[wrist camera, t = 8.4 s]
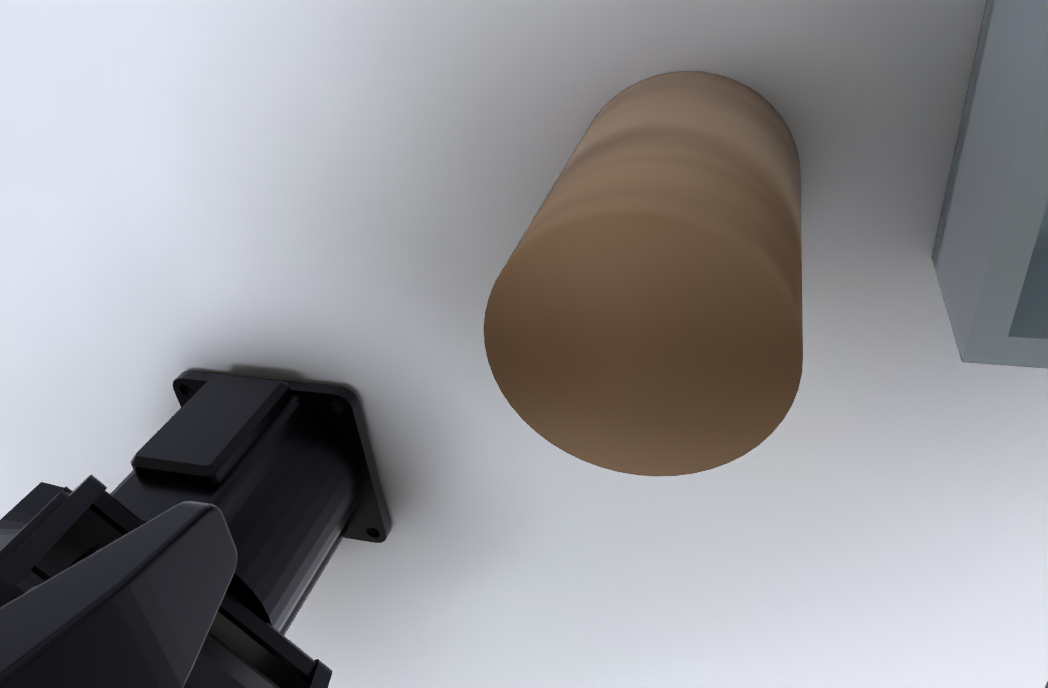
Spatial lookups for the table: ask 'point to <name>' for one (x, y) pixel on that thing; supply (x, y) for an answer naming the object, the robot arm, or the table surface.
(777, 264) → the walnut cylinder
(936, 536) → the table surface
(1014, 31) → the tote
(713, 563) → the table surface
